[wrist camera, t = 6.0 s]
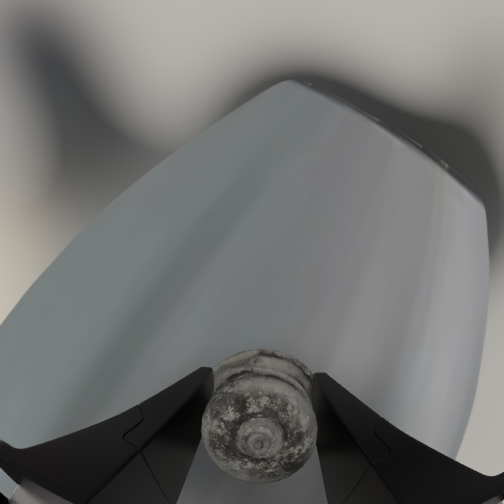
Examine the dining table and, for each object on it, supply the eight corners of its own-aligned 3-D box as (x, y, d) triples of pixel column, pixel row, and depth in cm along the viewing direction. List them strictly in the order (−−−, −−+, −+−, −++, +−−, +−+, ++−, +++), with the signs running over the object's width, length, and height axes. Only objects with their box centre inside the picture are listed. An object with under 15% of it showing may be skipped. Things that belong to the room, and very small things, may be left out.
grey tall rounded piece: (276, 337, 17) (302, 241, 6) (331, 416, 15) (451, 454, 4) (191, 387, 16) (67, 375, 5) (244, 468, 13) (211, 589, 3)
